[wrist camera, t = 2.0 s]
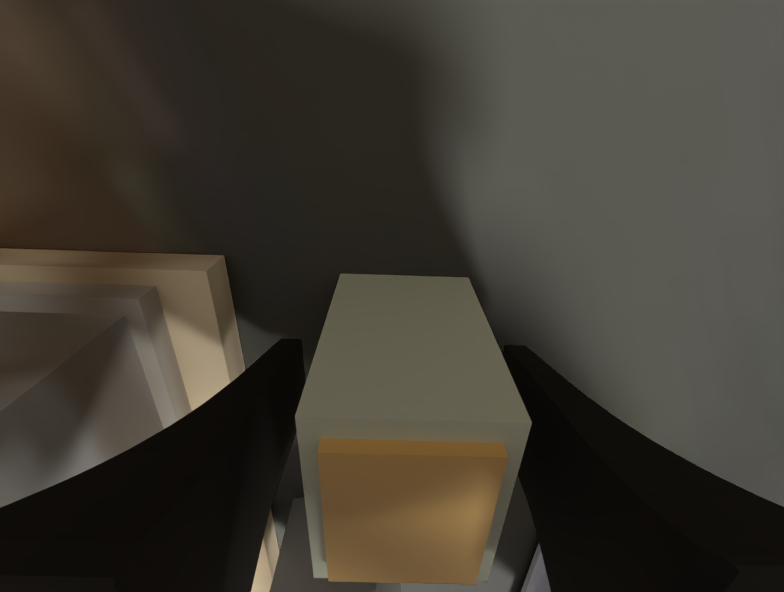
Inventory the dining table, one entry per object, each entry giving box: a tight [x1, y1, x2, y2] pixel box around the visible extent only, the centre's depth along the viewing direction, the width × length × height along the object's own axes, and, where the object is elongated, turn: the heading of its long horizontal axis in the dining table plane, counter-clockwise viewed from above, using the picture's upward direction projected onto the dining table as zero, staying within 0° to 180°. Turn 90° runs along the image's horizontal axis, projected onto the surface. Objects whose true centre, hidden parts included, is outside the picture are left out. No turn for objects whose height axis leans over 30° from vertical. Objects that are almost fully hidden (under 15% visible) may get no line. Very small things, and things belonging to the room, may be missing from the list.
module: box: [295, 273, 532, 585], centre depth 10 cm, size 4×5×6 cm
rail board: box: [0, 248, 279, 592], centre depth 13 cm, size 8×22×7 cm, turn 178°
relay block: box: [270, 497, 401, 592], centre depth 16 cm, size 4×4×4 cm
